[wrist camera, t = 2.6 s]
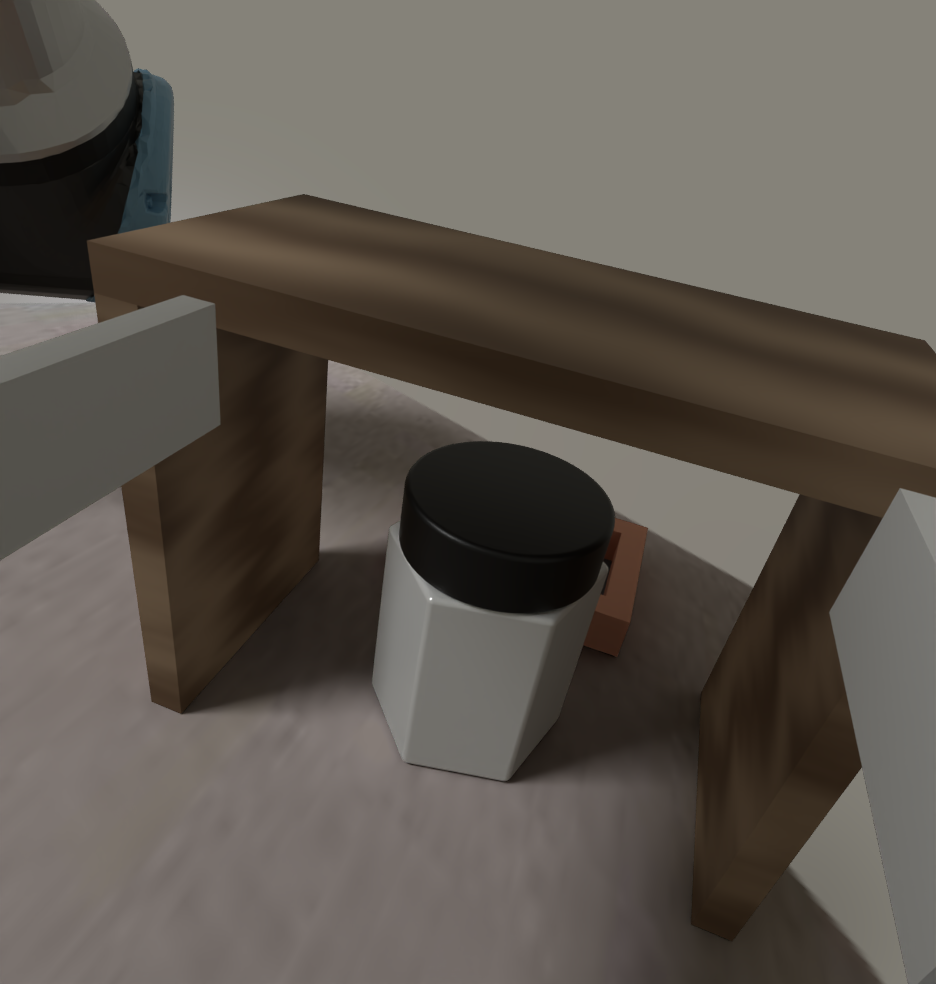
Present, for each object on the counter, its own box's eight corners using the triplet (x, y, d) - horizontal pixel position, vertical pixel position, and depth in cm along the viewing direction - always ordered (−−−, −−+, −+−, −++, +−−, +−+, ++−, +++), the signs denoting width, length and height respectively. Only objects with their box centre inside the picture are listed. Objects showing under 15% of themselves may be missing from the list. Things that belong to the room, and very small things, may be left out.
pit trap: (617, 657, 36) (630, 622, 35) (393, 579, 39) (398, 545, 38) (636, 558, 44) (647, 527, 43) (449, 499, 47) (454, 468, 45)
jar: (556, 657, 36) (618, 460, 29) (558, 797, 29) (639, 580, 22) (388, 625, 36) (414, 422, 29) (350, 757, 29) (372, 530, 22)
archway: (732, 941, 25) (1060, 501, 15) (151, 701, 30) (86, 240, 19) (730, 703, 35) (924, 340, 24) (295, 551, 40) (303, 194, 29)
